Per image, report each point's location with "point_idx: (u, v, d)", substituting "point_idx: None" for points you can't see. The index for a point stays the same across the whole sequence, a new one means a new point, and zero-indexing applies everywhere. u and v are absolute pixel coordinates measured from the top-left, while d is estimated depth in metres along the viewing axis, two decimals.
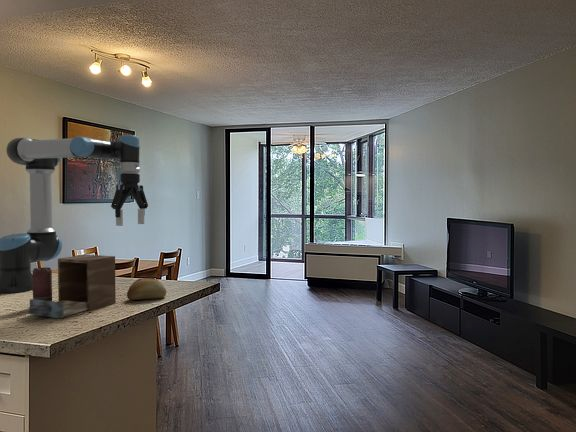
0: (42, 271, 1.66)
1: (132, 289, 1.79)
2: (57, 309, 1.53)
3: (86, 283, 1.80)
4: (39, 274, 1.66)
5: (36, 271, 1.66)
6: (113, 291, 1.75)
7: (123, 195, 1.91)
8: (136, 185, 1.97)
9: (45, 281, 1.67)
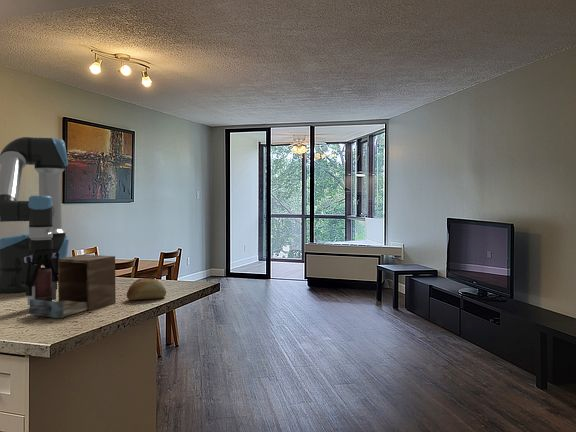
0: (42, 271, 1.66)
1: (132, 289, 1.79)
2: (57, 309, 1.53)
3: (86, 283, 1.80)
4: (39, 274, 1.66)
5: None
6: (113, 291, 1.75)
7: (33, 267, 1.66)
8: (49, 252, 1.71)
9: (45, 281, 1.67)
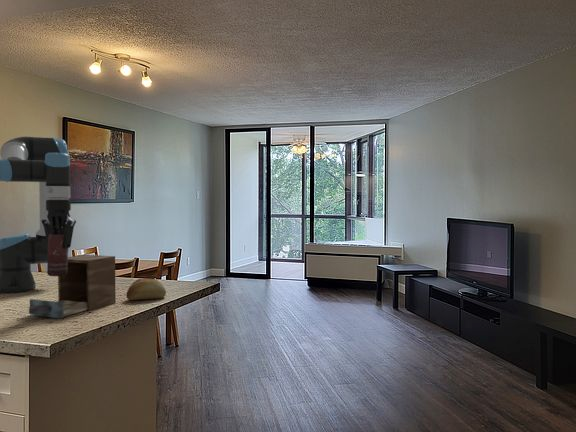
0: None
1: (131, 289, 1.78)
2: (57, 309, 1.53)
3: (86, 283, 1.80)
4: None
5: None
6: (113, 291, 1.75)
7: None
8: (61, 214, 1.57)
9: (48, 247, 1.57)
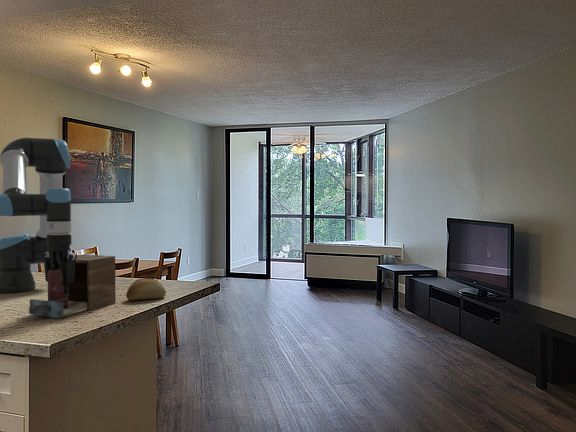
0: (48, 271, 1.59)
1: (131, 289, 1.78)
2: (57, 309, 1.53)
3: (86, 283, 1.80)
4: None
5: None
6: (113, 291, 1.75)
7: None
8: (62, 249, 1.58)
9: (48, 283, 1.58)
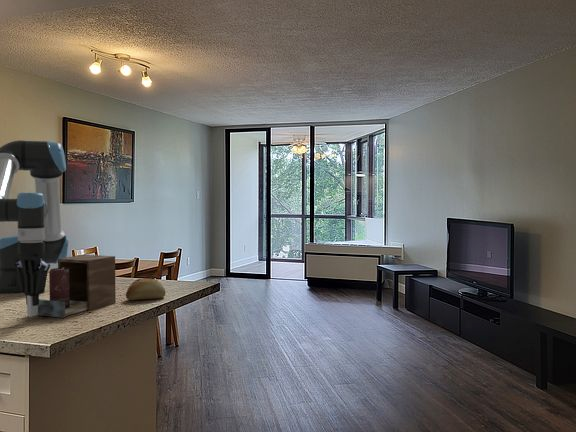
0: None
1: (131, 289, 1.78)
2: (59, 308, 1.54)
3: (86, 283, 1.80)
4: None
5: None
6: (113, 291, 1.75)
7: None
8: (34, 257, 1.48)
9: (50, 283, 1.58)
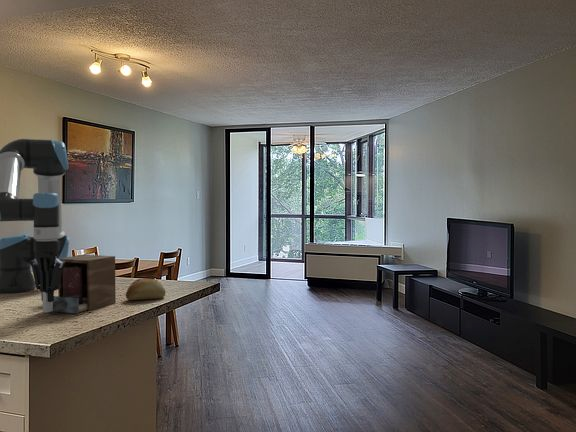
0: (63, 269, 1.65)
1: (131, 289, 1.78)
2: (73, 305, 1.59)
3: (86, 283, 1.80)
4: None
5: None
6: (113, 291, 1.75)
7: None
8: (50, 255, 1.53)
9: (63, 280, 1.64)
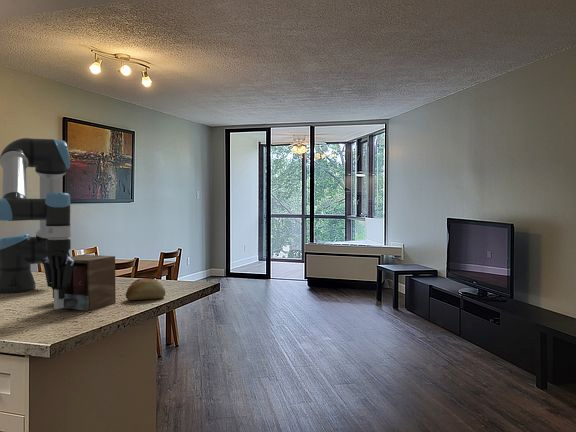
0: (73, 267, 1.69)
1: (131, 289, 1.78)
2: (83, 302, 1.63)
3: None
4: None
5: None
6: (113, 291, 1.75)
7: None
8: (61, 253, 1.58)
9: (73, 278, 1.68)
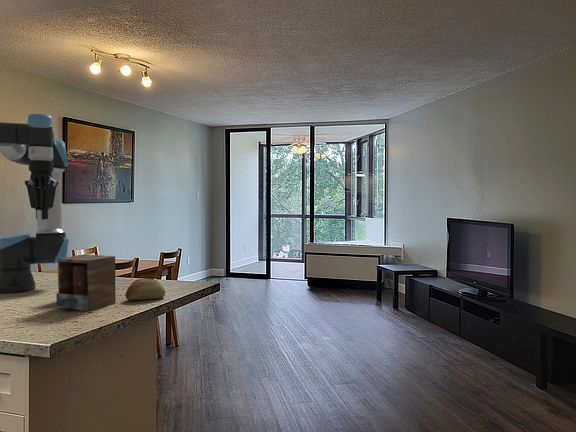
0: (73, 267, 1.69)
1: (130, 289, 1.78)
2: (83, 302, 1.63)
3: None
4: None
5: None
6: (113, 291, 1.75)
7: None
8: (44, 174, 1.60)
9: (73, 278, 1.68)
